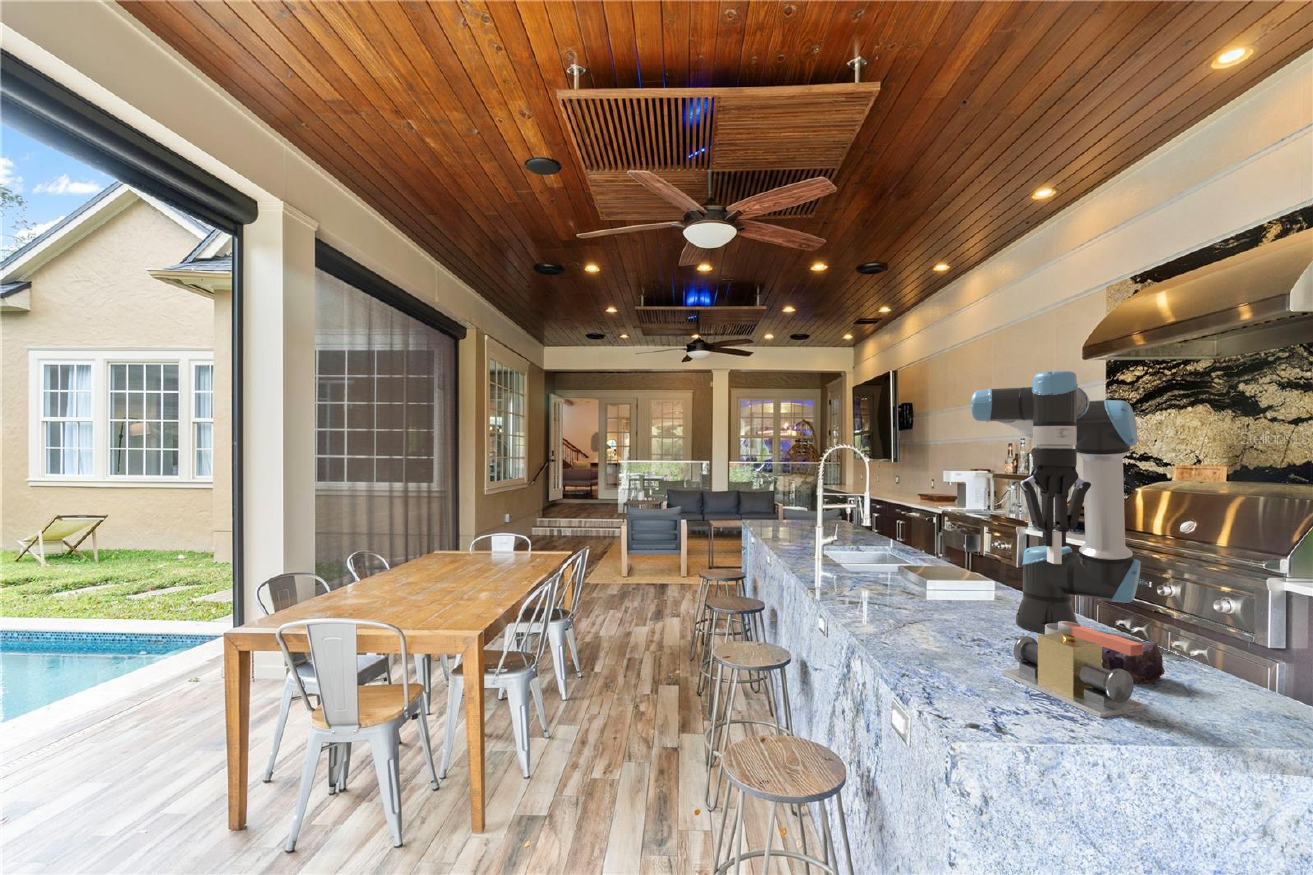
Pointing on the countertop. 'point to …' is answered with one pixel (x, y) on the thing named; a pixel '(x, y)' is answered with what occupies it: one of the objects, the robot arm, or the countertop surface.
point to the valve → (1073, 674)
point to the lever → (1101, 638)
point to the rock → (1136, 663)
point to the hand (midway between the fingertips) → (1054, 562)
